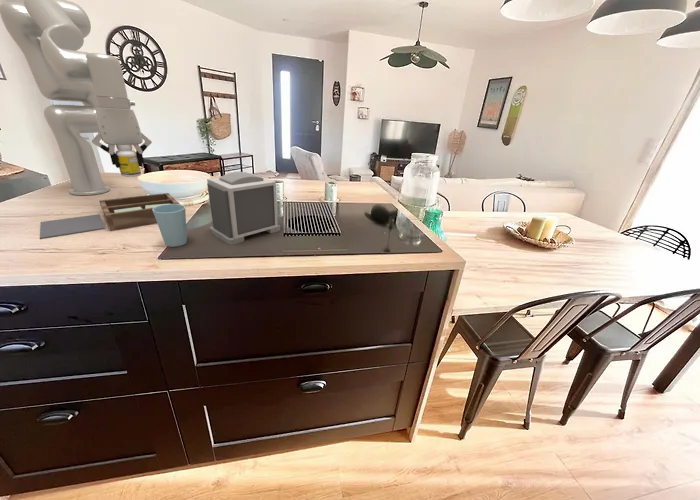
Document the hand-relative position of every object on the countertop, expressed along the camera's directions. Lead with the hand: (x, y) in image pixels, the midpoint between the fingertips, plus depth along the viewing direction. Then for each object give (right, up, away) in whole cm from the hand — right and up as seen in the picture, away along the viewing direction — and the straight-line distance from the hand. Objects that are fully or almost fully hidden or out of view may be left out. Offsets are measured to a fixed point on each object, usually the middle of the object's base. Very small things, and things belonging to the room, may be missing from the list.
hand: (129, 165), depth 94 cm
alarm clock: (+38, -21, +1) cm, 43 cm away
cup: (+22, -25, -10) cm, 35 cm away
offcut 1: (+1, -19, 0) cm, 19 cm away
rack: (+2, -16, +4) cm, 17 cm away
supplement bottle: (0, -3, +1) cm, 3 cm away
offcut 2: (+7, -17, +5) cm, 19 cm away
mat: (-13, -20, -6) cm, 24 cm away
